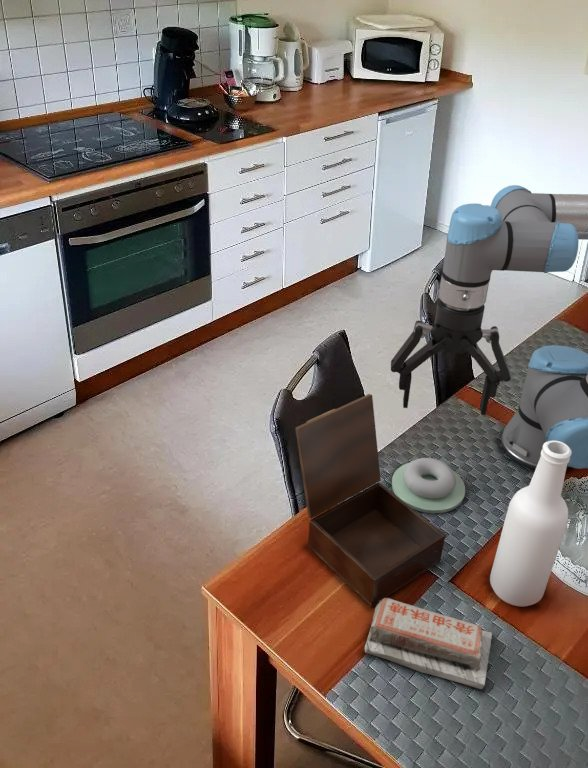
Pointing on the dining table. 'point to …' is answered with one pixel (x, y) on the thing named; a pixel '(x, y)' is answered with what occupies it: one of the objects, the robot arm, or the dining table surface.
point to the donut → (425, 486)
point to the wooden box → (375, 543)
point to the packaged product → (430, 642)
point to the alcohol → (532, 531)
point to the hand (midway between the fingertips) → (443, 407)
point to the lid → (338, 454)
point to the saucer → (425, 503)
